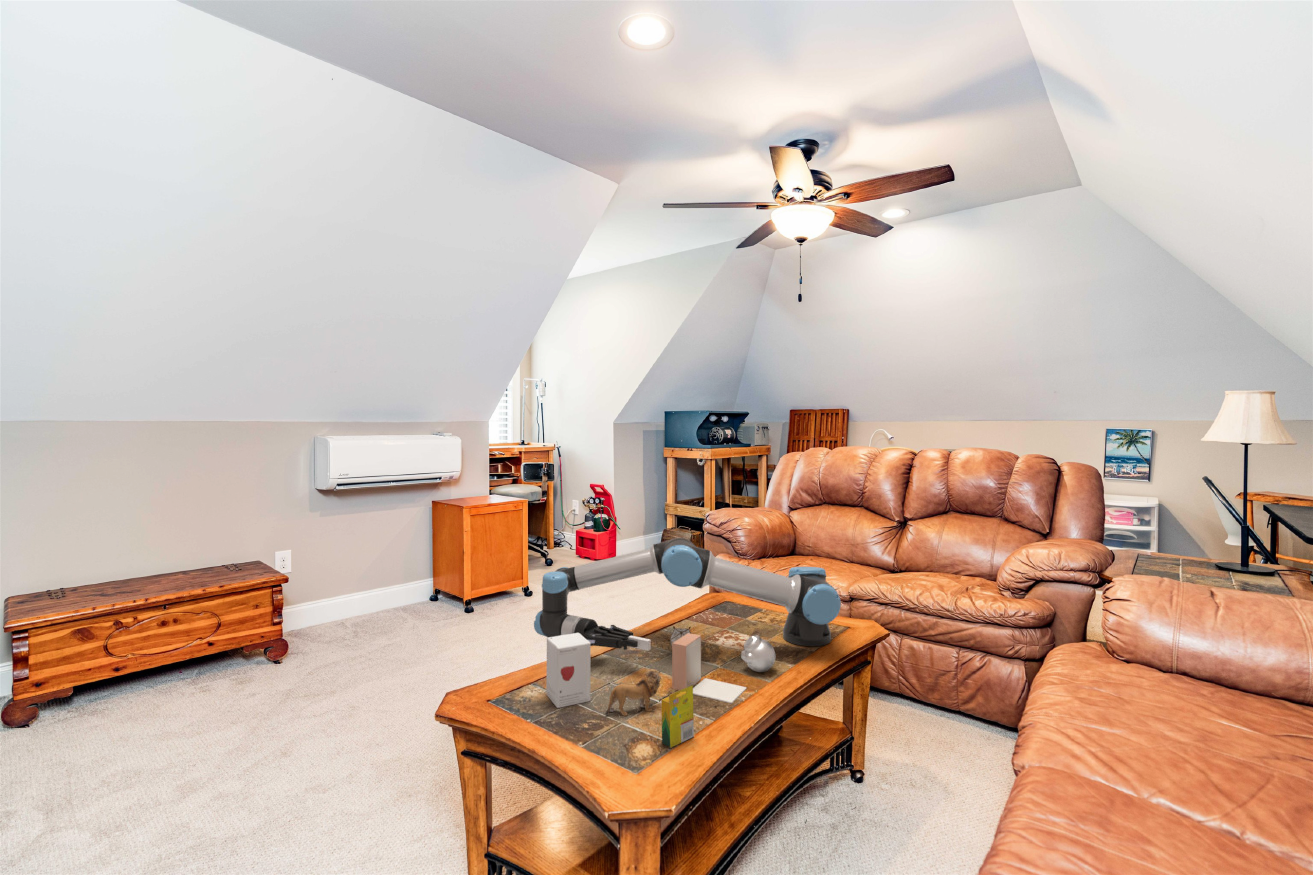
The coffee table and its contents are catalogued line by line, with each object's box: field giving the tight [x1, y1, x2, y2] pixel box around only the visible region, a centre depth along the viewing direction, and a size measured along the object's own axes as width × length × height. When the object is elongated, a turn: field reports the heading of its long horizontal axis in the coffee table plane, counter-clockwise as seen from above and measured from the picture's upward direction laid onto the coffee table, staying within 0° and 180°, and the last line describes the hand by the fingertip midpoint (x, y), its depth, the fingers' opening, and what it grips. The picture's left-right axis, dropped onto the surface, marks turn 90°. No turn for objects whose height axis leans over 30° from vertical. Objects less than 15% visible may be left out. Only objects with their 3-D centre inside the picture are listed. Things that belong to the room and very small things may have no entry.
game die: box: [667, 625, 692, 647], centre depth 187 cm, size 9×8×10 cm
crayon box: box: [660, 685, 695, 749], centre depth 136 cm, size 7×3×12 cm, turn 131°
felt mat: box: [693, 677, 747, 704], centre depth 161 cm, size 12×10×1 cm
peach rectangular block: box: [671, 633, 702, 691], centre depth 166 cm, size 4×9×12 cm, turn 150°
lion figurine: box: [604, 668, 662, 717], centre depth 150 cm, size 15×5×9 cm, turn 117°
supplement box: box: [545, 633, 592, 709], centre depth 157 cm, size 9×9×15 cm
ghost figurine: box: [740, 634, 776, 673], centre depth 174 cm, size 9×10×10 cm
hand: (649, 645), depth 171 cm, fingers closed
